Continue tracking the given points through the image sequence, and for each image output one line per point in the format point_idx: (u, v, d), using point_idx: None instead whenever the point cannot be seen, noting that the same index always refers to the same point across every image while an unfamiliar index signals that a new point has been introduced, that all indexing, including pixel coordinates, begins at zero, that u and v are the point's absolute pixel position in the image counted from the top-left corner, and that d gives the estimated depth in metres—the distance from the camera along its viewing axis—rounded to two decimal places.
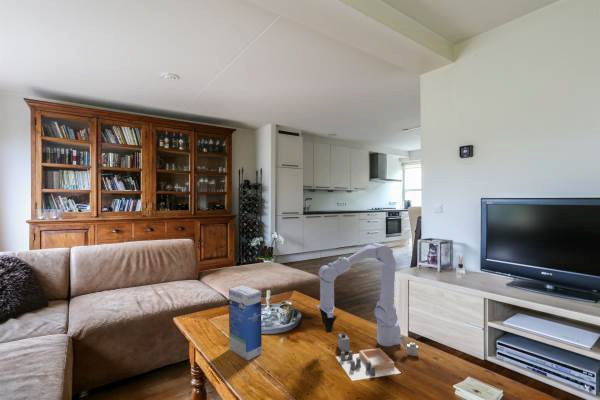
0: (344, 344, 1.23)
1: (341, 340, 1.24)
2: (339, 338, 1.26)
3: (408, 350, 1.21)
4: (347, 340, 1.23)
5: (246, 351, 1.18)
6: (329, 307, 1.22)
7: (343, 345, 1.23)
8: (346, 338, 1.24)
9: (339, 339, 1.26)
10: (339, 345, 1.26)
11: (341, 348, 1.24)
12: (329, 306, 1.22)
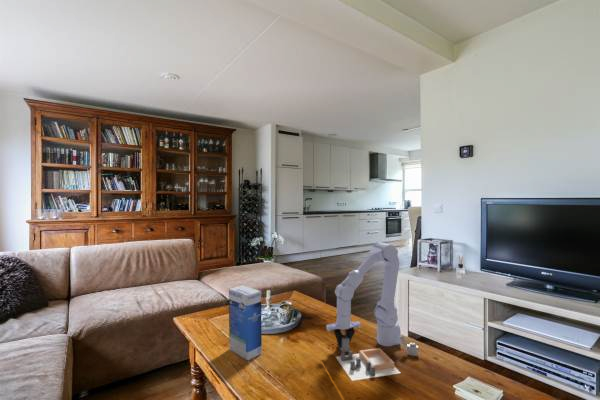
0: (344, 344, 1.23)
1: (341, 340, 1.24)
2: None
3: (408, 350, 1.21)
4: (347, 340, 1.23)
5: (246, 351, 1.18)
6: (337, 324, 1.24)
7: (343, 345, 1.23)
8: (346, 338, 1.24)
9: None
10: None
11: (341, 348, 1.24)
12: (338, 324, 1.24)
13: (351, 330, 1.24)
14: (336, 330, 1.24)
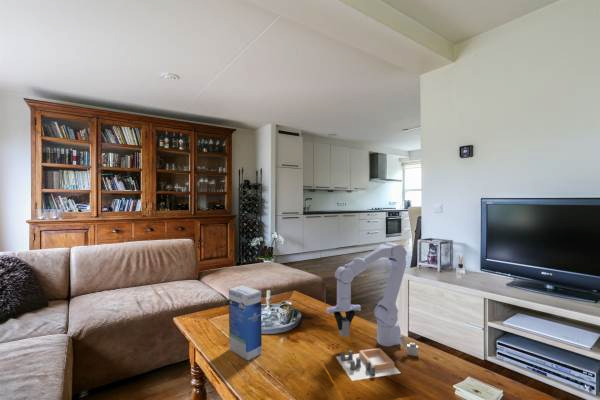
0: (344, 327, 1.23)
1: (341, 323, 1.24)
2: None
3: (408, 350, 1.21)
4: (347, 323, 1.23)
5: (246, 351, 1.18)
6: (337, 307, 1.24)
7: (343, 328, 1.23)
8: (346, 321, 1.24)
9: None
10: None
11: (341, 331, 1.24)
12: (338, 306, 1.24)
13: (351, 312, 1.24)
14: (336, 312, 1.24)
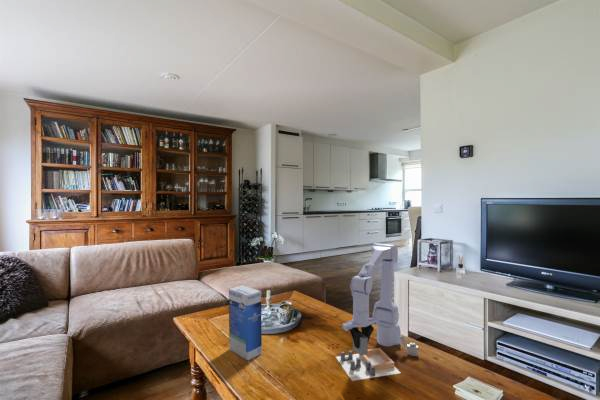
0: (362, 344, 1.08)
1: None
2: None
3: (408, 350, 1.21)
4: (365, 339, 1.09)
5: (246, 351, 1.18)
6: (355, 322, 1.09)
7: (361, 345, 1.08)
8: (364, 337, 1.09)
9: None
10: None
11: (358, 349, 1.09)
12: (355, 321, 1.09)
13: (370, 327, 1.10)
14: (354, 329, 1.08)
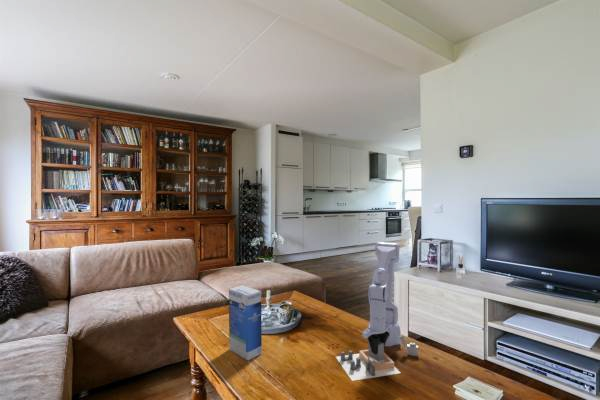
0: (380, 350, 1.13)
1: None
2: None
3: (408, 350, 1.21)
4: (382, 345, 1.14)
5: (246, 351, 1.18)
6: (373, 329, 1.13)
7: (379, 351, 1.13)
8: (380, 343, 1.14)
9: None
10: (371, 352, 1.15)
11: (376, 355, 1.13)
12: (374, 328, 1.13)
13: (386, 333, 1.15)
14: (373, 335, 1.12)
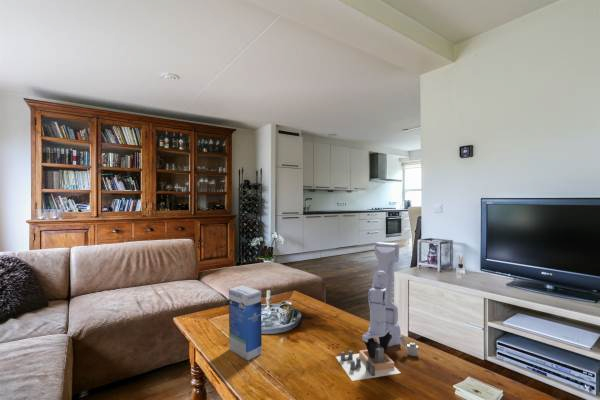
0: (380, 355, 1.13)
1: (376, 351, 1.13)
2: None
3: (408, 350, 1.21)
4: (382, 350, 1.14)
5: (246, 351, 1.18)
6: (373, 332, 1.13)
7: (379, 356, 1.13)
8: (380, 348, 1.14)
9: None
10: None
11: (376, 360, 1.13)
12: (374, 332, 1.13)
13: (388, 335, 1.16)
14: None
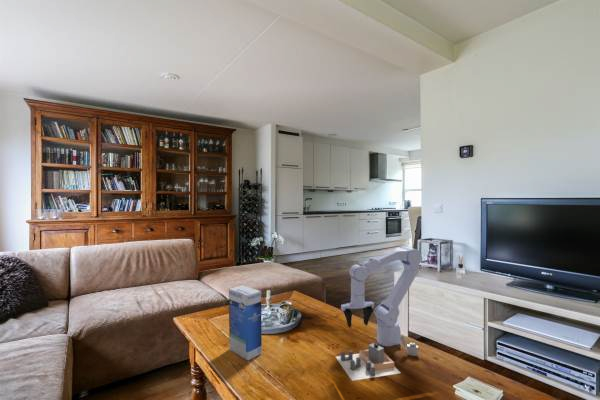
0: (380, 355, 1.13)
1: (376, 351, 1.13)
2: (371, 349, 1.15)
3: (408, 350, 1.21)
4: (382, 350, 1.14)
5: (246, 351, 1.18)
6: (352, 304, 1.27)
7: (379, 356, 1.13)
8: (380, 348, 1.14)
9: (371, 350, 1.15)
10: (371, 357, 1.15)
11: (376, 360, 1.13)
12: (352, 303, 1.27)
13: (369, 309, 1.28)
14: None
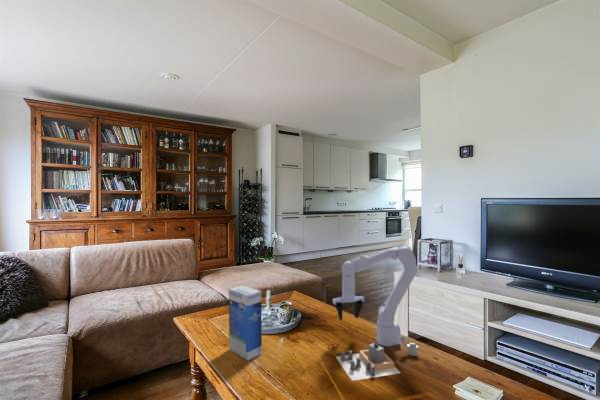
0: (380, 355, 1.13)
1: (376, 351, 1.13)
2: (371, 349, 1.15)
3: (408, 350, 1.21)
4: (382, 350, 1.14)
5: (246, 351, 1.18)
6: (343, 298, 1.34)
7: (379, 356, 1.13)
8: (380, 348, 1.14)
9: (371, 350, 1.15)
10: (371, 357, 1.15)
11: (376, 360, 1.13)
12: (343, 297, 1.34)
13: (359, 303, 1.35)
14: None
